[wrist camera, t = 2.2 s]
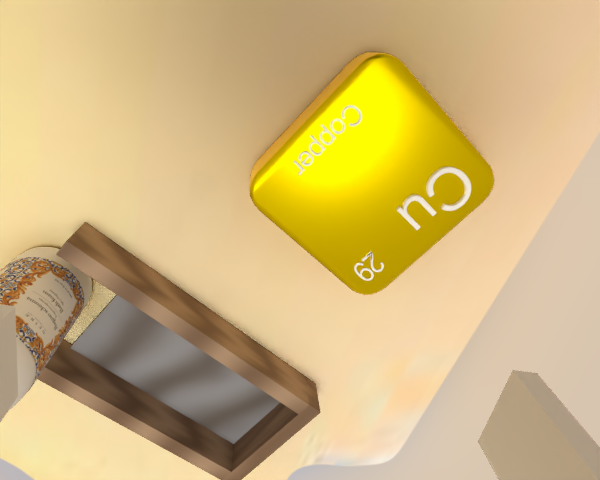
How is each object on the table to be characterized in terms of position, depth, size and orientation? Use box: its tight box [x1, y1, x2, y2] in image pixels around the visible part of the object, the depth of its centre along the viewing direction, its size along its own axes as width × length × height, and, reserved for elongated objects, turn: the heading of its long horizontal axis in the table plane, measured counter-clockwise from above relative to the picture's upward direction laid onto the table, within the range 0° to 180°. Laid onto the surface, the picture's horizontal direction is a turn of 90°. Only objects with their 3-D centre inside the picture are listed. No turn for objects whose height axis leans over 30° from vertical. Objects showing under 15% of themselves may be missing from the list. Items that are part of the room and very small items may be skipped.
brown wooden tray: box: [37, 222, 320, 480], centre depth 42 cm, size 28×13×4 cm, turn 47°
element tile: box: [250, 52, 494, 295], centre depth 36 cm, size 15×15×5 cm
